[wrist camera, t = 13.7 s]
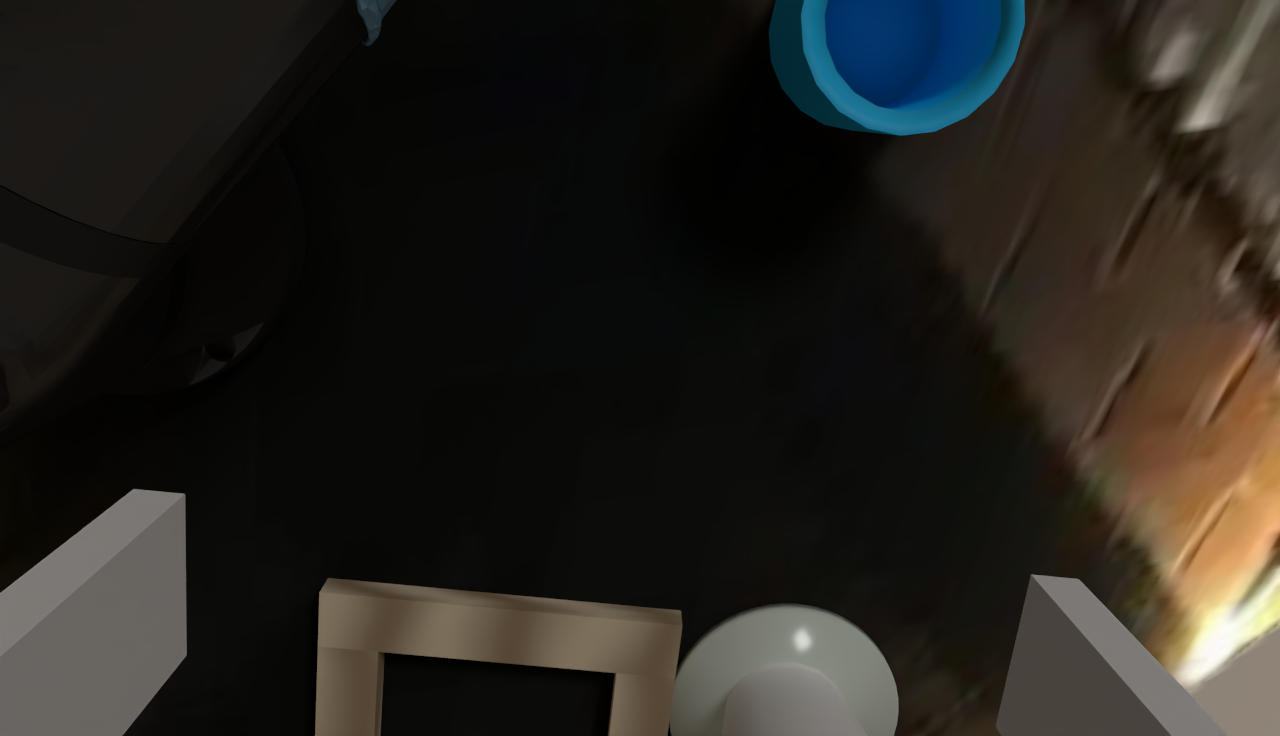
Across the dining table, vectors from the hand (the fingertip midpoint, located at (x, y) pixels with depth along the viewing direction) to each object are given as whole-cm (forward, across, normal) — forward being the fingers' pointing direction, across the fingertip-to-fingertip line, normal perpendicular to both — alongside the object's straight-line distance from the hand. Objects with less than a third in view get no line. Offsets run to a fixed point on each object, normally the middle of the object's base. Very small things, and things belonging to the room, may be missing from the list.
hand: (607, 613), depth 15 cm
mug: (+32, +11, +13) cm, 36 cm away
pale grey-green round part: (+32, +11, -22) cm, 40 cm away
